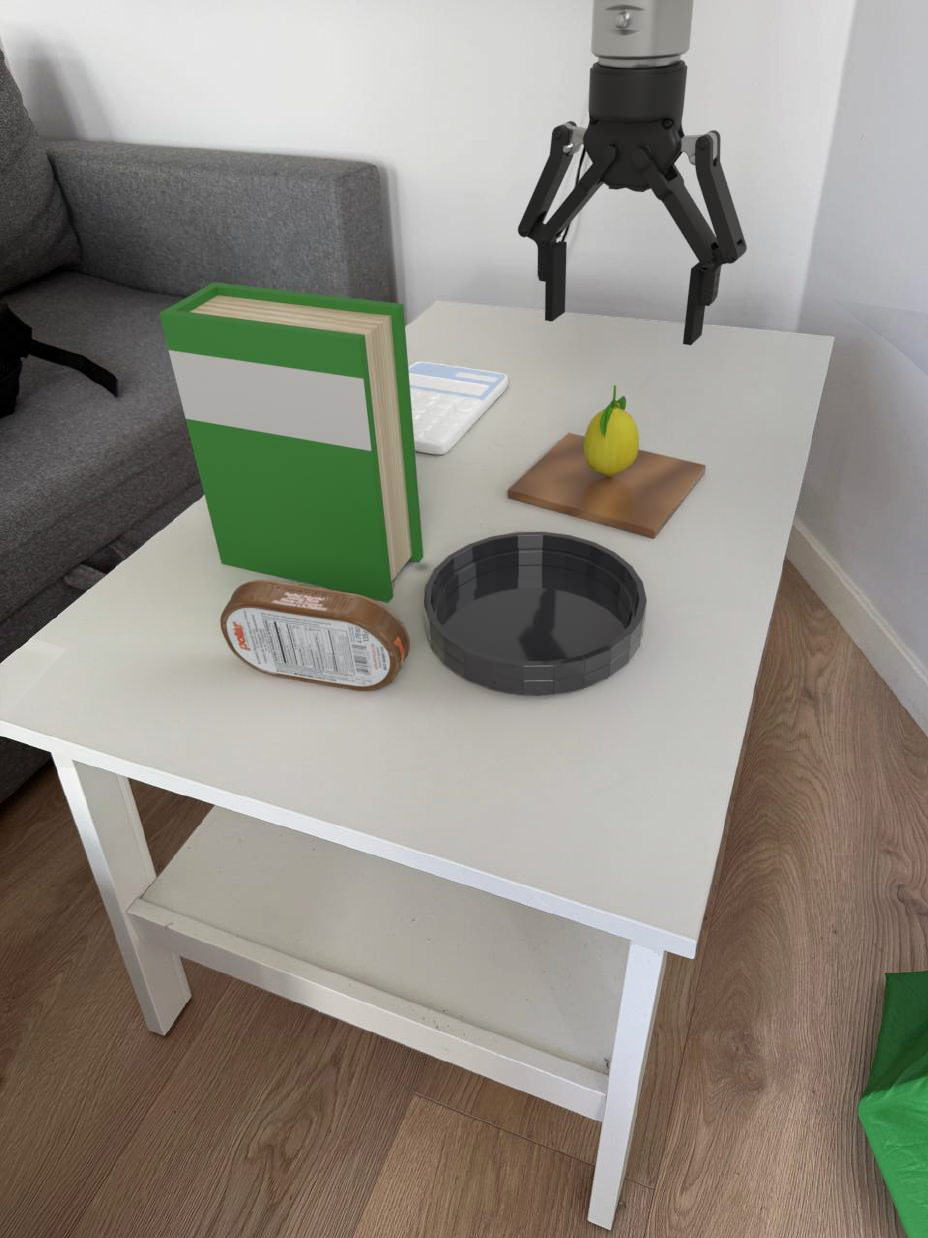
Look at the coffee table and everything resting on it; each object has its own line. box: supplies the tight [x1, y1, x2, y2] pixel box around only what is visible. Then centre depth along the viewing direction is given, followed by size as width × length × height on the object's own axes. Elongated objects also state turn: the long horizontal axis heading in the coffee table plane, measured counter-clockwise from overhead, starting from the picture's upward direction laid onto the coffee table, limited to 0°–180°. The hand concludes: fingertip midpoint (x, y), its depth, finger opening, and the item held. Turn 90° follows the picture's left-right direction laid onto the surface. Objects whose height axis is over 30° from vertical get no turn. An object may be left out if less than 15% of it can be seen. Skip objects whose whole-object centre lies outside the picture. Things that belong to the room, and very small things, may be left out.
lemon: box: [583, 384, 640, 477], centre depth 91 cm, size 7×6×10 cm
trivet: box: [507, 432, 707, 539], centre depth 95 cm, size 16×14×1 cm
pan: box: [423, 531, 648, 697], centre depth 77 cm, size 18×18×4 cm
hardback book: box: [158, 281, 424, 603], centre depth 79 cm, size 18×7×24 cm, turn 67°
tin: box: [219, 579, 411, 692], centre depth 71 cm, size 15×3×8 cm, turn 74°
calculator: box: [408, 361, 509, 456], centre depth 109 cm, size 13×20×2 cm, turn 156°
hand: (621, 327), depth 84 cm, fingers open, 13 cm apart
